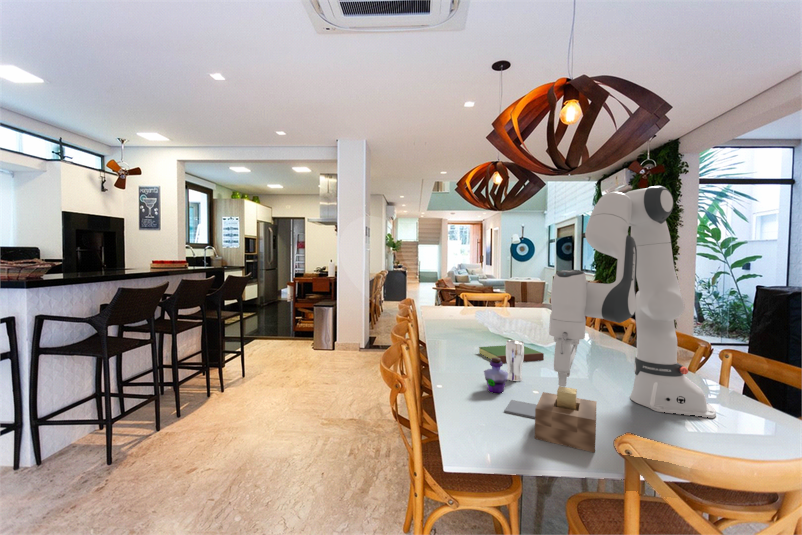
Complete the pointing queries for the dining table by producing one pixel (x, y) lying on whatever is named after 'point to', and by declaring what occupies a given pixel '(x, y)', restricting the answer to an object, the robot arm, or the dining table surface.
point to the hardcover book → (501, 353)
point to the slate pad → (521, 408)
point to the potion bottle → (496, 376)
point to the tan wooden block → (567, 398)
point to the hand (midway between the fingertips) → (564, 380)
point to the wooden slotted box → (566, 423)
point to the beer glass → (514, 359)
